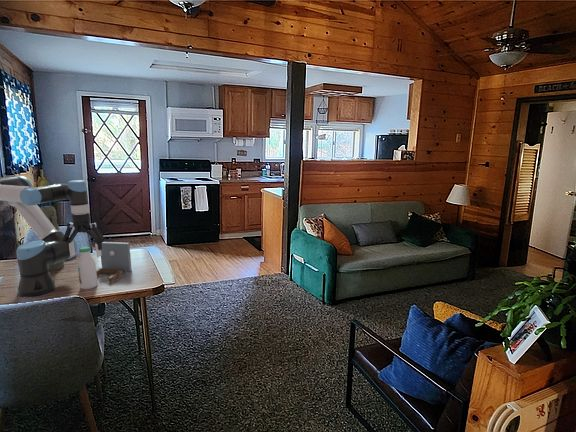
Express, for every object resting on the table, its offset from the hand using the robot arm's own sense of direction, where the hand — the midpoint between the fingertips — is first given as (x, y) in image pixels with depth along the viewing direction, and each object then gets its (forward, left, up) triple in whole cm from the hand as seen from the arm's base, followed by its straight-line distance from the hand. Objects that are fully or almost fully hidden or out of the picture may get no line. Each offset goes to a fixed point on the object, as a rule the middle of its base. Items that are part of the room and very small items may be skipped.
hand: (86, 255), depth 184 cm
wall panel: (+21, -2, -16) cm, 26 cm away
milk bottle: (0, 0, -16) cm, 16 cm away
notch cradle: (+10, -2, -16) cm, 19 cm away
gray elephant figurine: (+42, +41, -16) cm, 61 cm away
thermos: (+23, +35, -16) cm, 45 cm away
